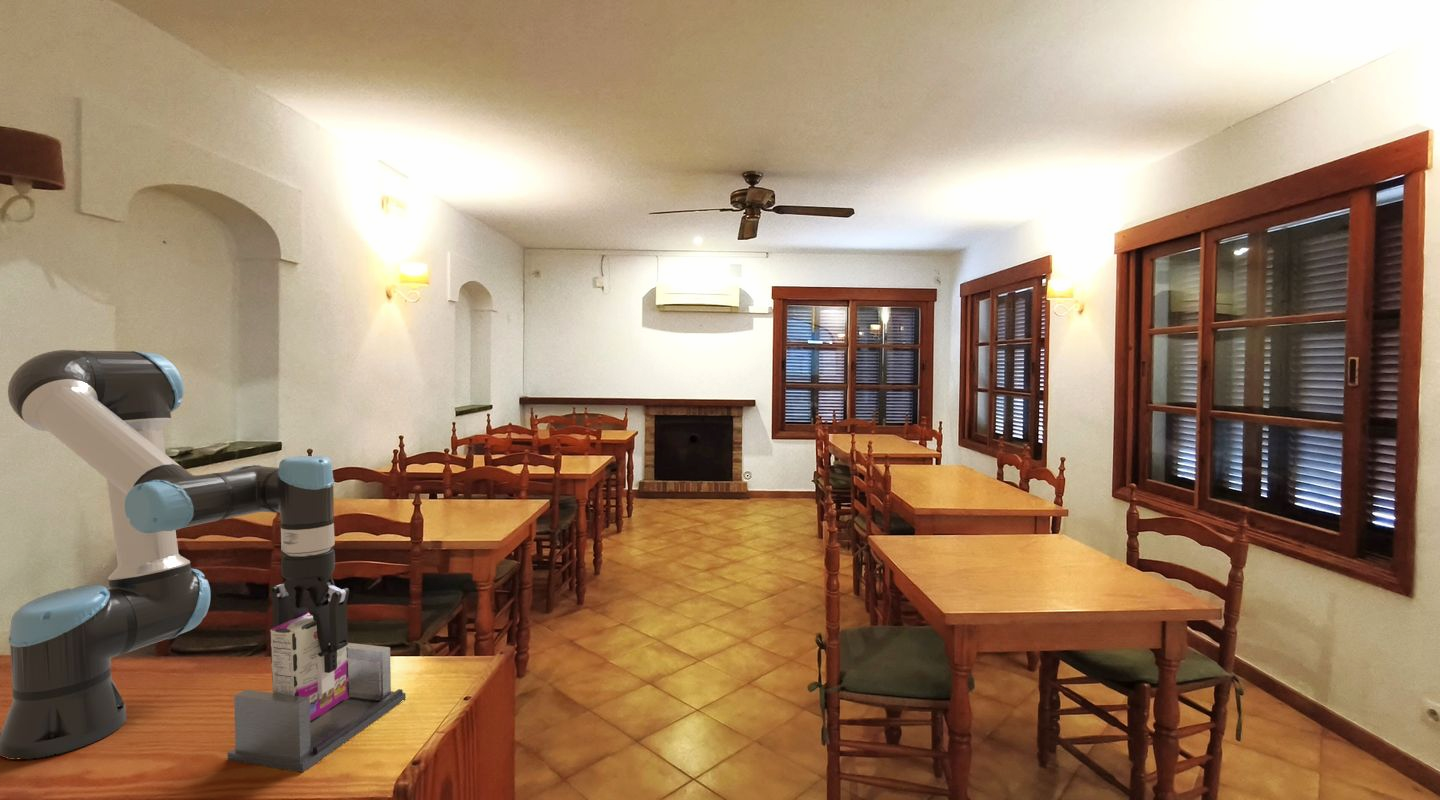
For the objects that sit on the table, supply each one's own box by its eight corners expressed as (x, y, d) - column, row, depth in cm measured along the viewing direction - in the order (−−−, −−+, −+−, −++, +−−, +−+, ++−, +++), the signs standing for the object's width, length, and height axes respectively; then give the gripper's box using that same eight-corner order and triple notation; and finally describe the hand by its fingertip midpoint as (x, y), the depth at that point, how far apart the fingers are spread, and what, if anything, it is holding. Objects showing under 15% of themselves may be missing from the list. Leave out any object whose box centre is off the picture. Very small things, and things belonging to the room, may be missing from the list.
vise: (227, 760, 104) (225, 696, 103) (341, 691, 126) (340, 638, 126) (303, 772, 101) (301, 706, 100) (405, 699, 123) (404, 645, 123)
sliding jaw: (330, 694, 121) (329, 646, 121) (362, 675, 129) (361, 630, 129) (382, 701, 119) (381, 652, 119) (411, 681, 127) (411, 635, 126)
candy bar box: (325, 695, 117) (324, 603, 116) (350, 698, 116) (348, 606, 115) (270, 729, 106) (268, 627, 105) (297, 732, 105) (295, 630, 104)
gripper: (242, 553, 108) (246, 693, 109) (337, 559, 104) (340, 705, 105) (282, 541, 115) (285, 673, 116) (372, 547, 111) (374, 683, 112)
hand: (311, 688), depth 110 cm, fingers closed on candy bar box, 5 cm apart
